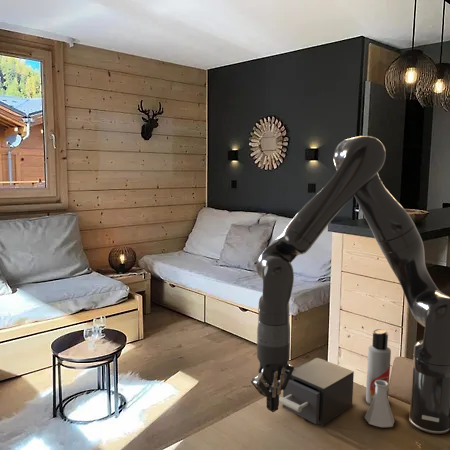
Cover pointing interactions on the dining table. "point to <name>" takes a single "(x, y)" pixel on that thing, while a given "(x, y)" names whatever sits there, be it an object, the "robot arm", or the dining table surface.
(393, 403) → the dining table surface
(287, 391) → the drawer
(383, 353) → the lotion bottle
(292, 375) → the cabinet
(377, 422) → the flask
